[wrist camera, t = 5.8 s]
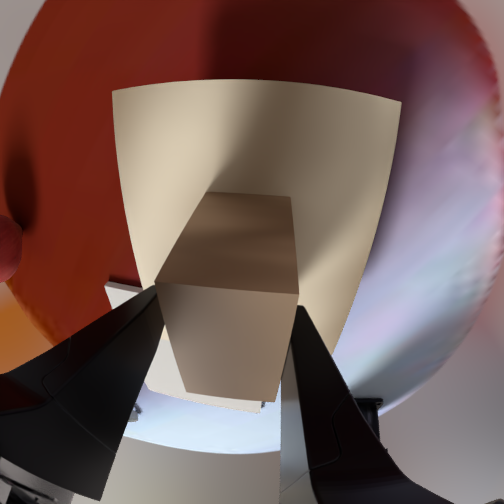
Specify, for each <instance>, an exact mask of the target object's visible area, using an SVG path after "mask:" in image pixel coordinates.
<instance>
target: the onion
mask: <svg viewBox="0 0 504 504" xmlns="http://www.w3.org/2000/svg"><path fill="white" fill-rule="evenodd" d="M22 236H23V231H22V228H21V226H20V225H19V224H17V223H16V222H14V221H13V220H11V219H10V218H8V217H6V216H3V215H0V283H1V282H4V281H6V280H7V279H9V278H10V277H11V276H12V275H13V274H14V273H15V271H16V270H17V268H18V265H19V263H20V261H21V255H22Z"/></svg>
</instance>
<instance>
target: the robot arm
mask: <svg viewBox="0 0 504 504" xmlns="http://www.w3.org/2000/svg"><path fill="white" fill-rule="evenodd" d="M164 326H165V323H164V319H163V315H162V312H161V308H160V304H159V300H158V296H157V292H156V287H155V285H152V286H150V287H148V288H147V289H145V290H143V291H142V292H140V293H138V294H137V295H135V296H134V297H132V298H130V299H129V300H127V301H126V302H124V303H122V304H121V305H119V306H118V307H116V308H114V309H113V310H111V311H110V312H108V313H106V314H105V315H103V316H102V317H100V318H98V319H97V320H95V321H94V322H92V323H91V324H89V325H87V326H86V327H84V328H83V329H81V330H80V331H78V332H77V333H75V334H73V335H72V336H71V337H69V338H67V339H66V340H64V341H63V342H61V343H59V344H58V345H56V346H55V347H53V348H52V349H50V350H48V351H46V352H45V353H43V354H41V355H39V356H37V357H36V358H34V359H32V360H30V361H28V362H26V363H25V364H23V365H21V366H19V367H17V368H15V369H13V370H11V371H9V372H7V373H4V374H0V504H71V501H72V499H73V496H74V493H76V494H79V495H82V496H85V497H88V498H91V499H94V500H97V501H100V500H101V497H102V494H103V491H104V488H105V485H106V482H107V479H108V476H109V473H110V470H111V467H112V464H113V462H114V459H115V456H116V454H115V453H116V452H117V450H118V447H119V444H120V442H121V439H122V436H123V434H124V431H125V428H126V426H127V423H128V420H129V418H130V415H131V413H132V410H133V408H134V405H135V402H136V400H137V397H138V395H139V392H140V390H141V388H142V385H143V383H144V380H145V378H146V375H147V373H148V371H149V368H150V366H151V363H152V361H153V359H154V356H155V354H156V351H157V348H158V345H159V342H160V339H161V335H162V332H163V329H164ZM382 405H383V399H354V398H353V396H352V394H351V393H350V390H349V389H348V387H347V385H346V383H345V381H344V379H343V377H342V375H341V373H340V371H339V370H338V368H337V366H336V364H335V362H334V360H333V358H332V356H331V354H330V353H329V351H328V349H327V347H326V345H325V343H324V341H323V340H322V338H321V336H320V334H319V332H318V330H317V328H316V327H315V325H314V323H313V321H312V319H311V317H310V316H309V314H308V312H307V310H306V308H305V307H304V306H303V305H297V309H296V314H295V318H294V323H293V328H292V332H291V337H290V341H289V346H288V350H287V355H286V359H285V363H284V367H283V372H282V376H281V460H280V497H279V498H280V499H279V504H454V503H452V502H450V501H448V500H446V499H444V498H442V497H440V496H438V495H436V494H434V493H433V492H431V491H429V490H427V489H425V488H423V487H422V486H420V485H418V484H416V483H415V482H413V481H411V480H410V479H409V478H408V477H407V476H406V475H404V474H403V472H402V471H401V470H400V469H399V468H398V466H397V465H396V464H395V462H394V461H393V459H392V458H391V456H390V455H389V454H388V450H387V449H385V448H384V447H383V445H382V443H381V442H380V433H379V420H378V409H379V408H380V407H381V406H382ZM486 504H504V500H503V499H496V500H494V501H491V502H488V503H486Z"/></svg>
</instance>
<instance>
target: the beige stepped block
mask: <svg viewBox="0 0 504 504" xmlns="http://www.w3.org/2000/svg"><path fill="white" fill-rule="evenodd" d="M112 97H113V116H114V130H115V141H116V150H117V159H118V167H119V175H120V182H121V188H122V195H123V201H124V207H125V212H126V218H127V223H128V228H129V233H130V237H131V242H132V247H133V251H134V255H135V260H136V264H137V268H138V272H139V276H140V280H141V284H142V287H143V290H145V289H147V288H148V287H150V286H152V285H155V287H156V292H157V296H158V300H159V304H160V308H161V312H162V315H163V319H164V323H165V326H164V329H163V332H162V335H161V339H162V340H168V341H170V344H171V347H172V350H173V354H174V357H175V360H176V363H177V366H178V369H179V372H180V375H181V378H182V381H183V384H184V387H185V390H186V392H188V393H194V394H200V395H207V396H214V397H222V398H230V399H239V400H250V401H263V402H275V400H276V396H277V392H278V388H279V384H280V380H281V376H282V372H283V367H284V363H285V359H286V355H287V350H288V346H289V341H290V337H291V332H292V328H293V323H294V318H295V314H296V309H297V305H303V306H304V307H305V308H306V310H307V312H308V314H309V316H310V317H311V319H312V321H313V323H314V325H315V327H316V328H317V330H318V332H319V334H320V336H321V338H322V340H323V341H324V343H325V345H326V347H327V349H328V351H329V353H330V354H331V355H332V354H333V352H334V349H335V347H336V344H337V342H338V340H339V337H340V335H341V332H342V330H343V327H344V325H345V322H346V320H347V317H348V315H349V312H350V309H351V307H352V304H353V301H354V298H355V296H356V293H357V290H358V287H359V284H360V281H361V278H362V275H363V272H364V269H365V266H366V263H367V260H368V256H369V253H370V250H371V247H372V243H373V240H374V236H375V233H376V229H377V225H378V222H379V218H380V214H381V210H382V206H383V202H384V198H385V194H386V189H387V185H388V180H389V176H390V171H391V166H392V161H393V155H394V150H395V144H396V138H397V132H398V125H399V118H400V111H401V103H402V102H399V101H395V100H392V99H388V98H384V97H380V96H375V95H371V94H366V93H362V92H357V91H352V90H346V89H340V88H334V87H328V86H321V85H314V84H305V83H296V82H285V81H270V80H244V79H222V80H196V81H181V82H170V83H161V84H153V85H145V86H139V87H132V88H126V89H121V90H115V91H112Z"/></svg>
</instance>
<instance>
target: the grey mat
mask: <svg viewBox="0 0 504 504" xmlns="http://www.w3.org/2000/svg"><path fill="white" fill-rule="evenodd" d="M105 289H106V292H107V295H108V298H109V300H110V303H111V306H112V308H113V309H114V308H116V307H118V306H119V305H121V304H122V303H124V302H126V301H127V300H129V299H130V298H132V297H134V296H135V295H137V294H138V293H140V292H142V291H143V288H139V287H134V286H129V285H124V284H119V283H114V282H109V281H108V282H107V283H106V285H105ZM144 381H145V383H146V385H147V387H148V388H149V390H151V391H155V392H158V393H162V394H165V395H169V396H173V397H177V398H181V399H185V400H189V401H193V402H198V403H202V404H207V405H212V406H217V407H222V408H228V409H234V410H240V411H247V412H254V413H260V410H261V403H262V401H250V400H239V399H230V398H222V397H214V396H207V395H200V394H194V393H188V392H186V390H185V387H184V384H183V381H182V378H181V375H180V372H179V369H178V366H177V363H176V360H175V357H174V354H173V350H172V347H171V344H170V341H168V340H162V339H160V342H159V345H158V348H157V351H156V354H155V356H154V359H153V361H152V363H151V366H150V368H149V371H148V373H147V375H146V378H145V380H144Z"/></svg>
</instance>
